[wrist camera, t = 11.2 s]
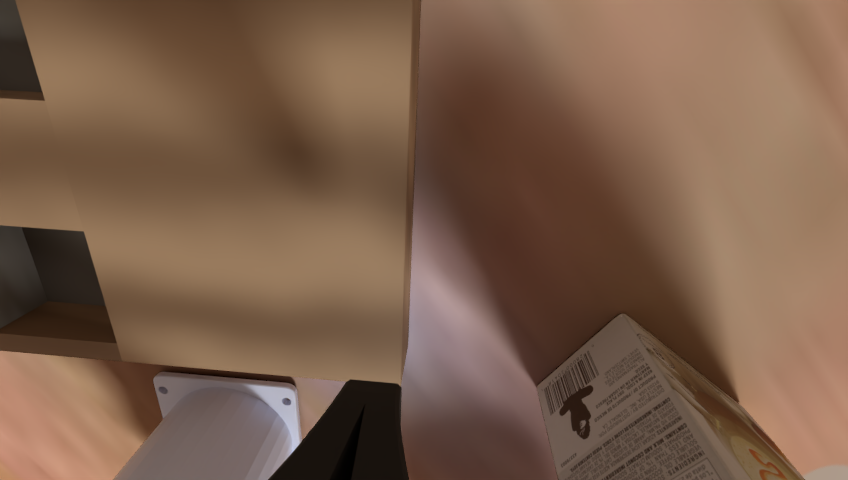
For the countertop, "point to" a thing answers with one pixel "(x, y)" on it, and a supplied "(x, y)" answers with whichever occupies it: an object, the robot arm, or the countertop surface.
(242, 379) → the robot arm
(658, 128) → the countertop surface
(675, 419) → the coffee box
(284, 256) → the trap board
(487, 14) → the countertop surface
